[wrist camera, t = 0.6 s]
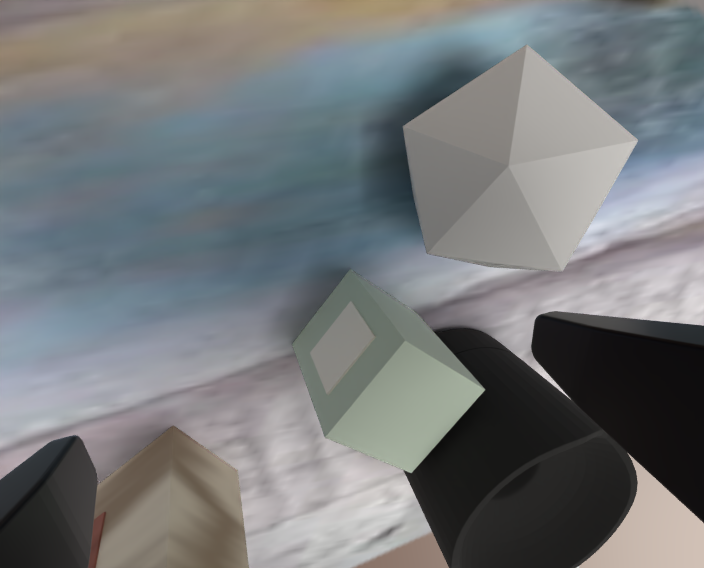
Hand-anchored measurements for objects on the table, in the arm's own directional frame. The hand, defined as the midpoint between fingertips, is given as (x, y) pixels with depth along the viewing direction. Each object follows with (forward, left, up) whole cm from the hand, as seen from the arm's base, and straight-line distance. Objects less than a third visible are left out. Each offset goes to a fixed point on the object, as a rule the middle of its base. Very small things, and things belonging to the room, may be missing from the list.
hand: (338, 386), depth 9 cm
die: (+9, +5, -14) cm, 17 cm away
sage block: (+7, -5, -13) cm, 16 cm away
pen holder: (+14, -8, -14) cm, 21 cm away
